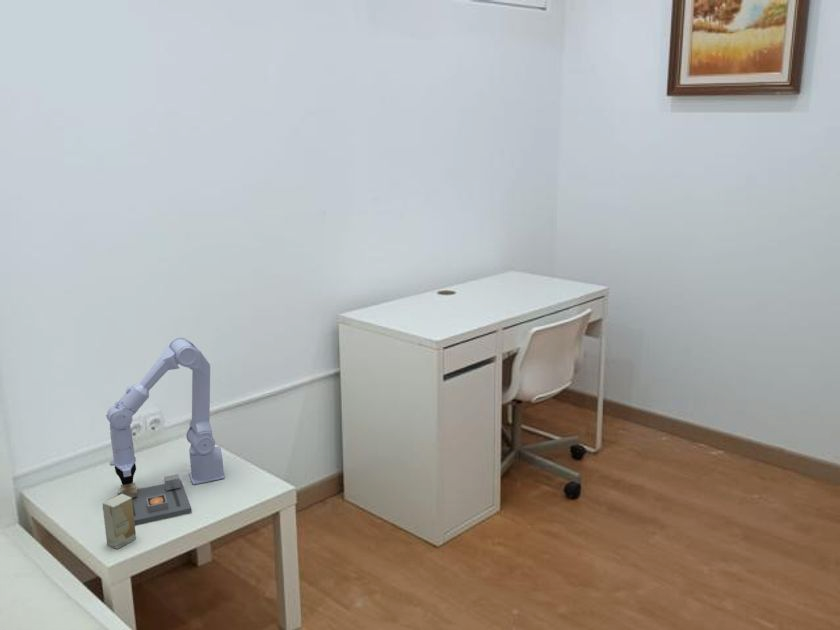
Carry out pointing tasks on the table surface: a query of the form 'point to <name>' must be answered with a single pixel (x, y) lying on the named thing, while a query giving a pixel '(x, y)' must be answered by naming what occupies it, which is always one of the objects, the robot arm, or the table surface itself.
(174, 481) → the steel slider
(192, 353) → the robot arm
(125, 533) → the skincare box
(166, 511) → the control panel
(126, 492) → the birch slider
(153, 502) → the push button
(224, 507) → the table surface
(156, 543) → the table surface
